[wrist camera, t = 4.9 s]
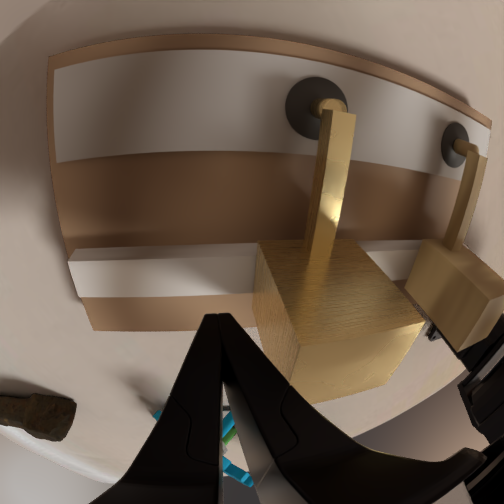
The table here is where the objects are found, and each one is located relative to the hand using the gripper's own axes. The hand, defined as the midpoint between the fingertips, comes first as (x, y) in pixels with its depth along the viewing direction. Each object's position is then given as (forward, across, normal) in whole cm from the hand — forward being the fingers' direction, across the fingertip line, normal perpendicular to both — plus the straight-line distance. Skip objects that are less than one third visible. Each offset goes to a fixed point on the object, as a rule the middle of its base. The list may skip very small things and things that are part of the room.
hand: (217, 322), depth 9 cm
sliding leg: (+3, -4, -3) cm, 5 cm away
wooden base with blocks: (+5, -5, -2) cm, 7 cm away
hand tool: (+6, +22, +17) cm, 28 cm away
